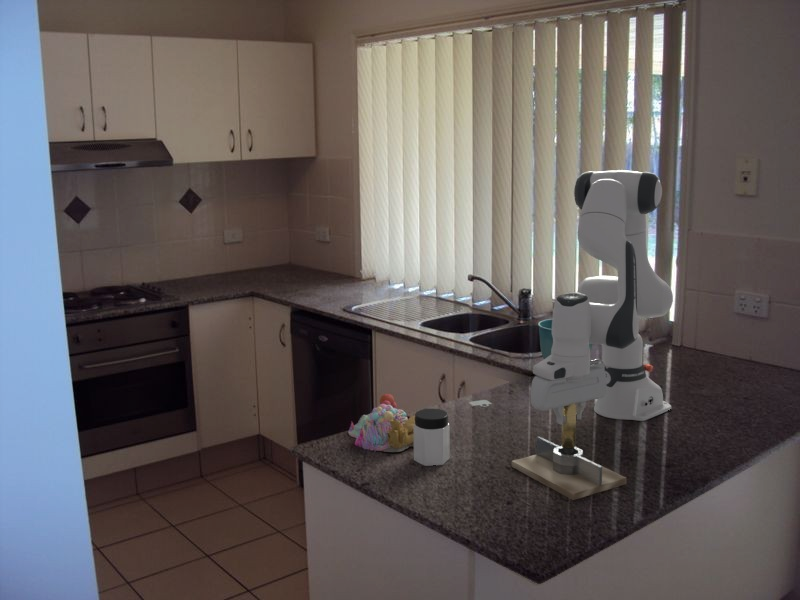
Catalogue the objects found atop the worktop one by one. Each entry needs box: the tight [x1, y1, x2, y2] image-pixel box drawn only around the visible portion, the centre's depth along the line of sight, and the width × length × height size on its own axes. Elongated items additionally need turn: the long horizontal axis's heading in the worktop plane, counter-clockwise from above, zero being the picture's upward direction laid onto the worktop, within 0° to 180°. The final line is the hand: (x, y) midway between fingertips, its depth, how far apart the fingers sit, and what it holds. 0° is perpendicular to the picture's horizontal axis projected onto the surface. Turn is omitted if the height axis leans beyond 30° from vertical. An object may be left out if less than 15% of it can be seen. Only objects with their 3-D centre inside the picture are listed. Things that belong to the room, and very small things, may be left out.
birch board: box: [511, 453, 628, 501], centre depth 202 cm, size 16×22×2 cm
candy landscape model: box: [347, 393, 415, 453], centre depth 228 cm, size 25×24×9 cm
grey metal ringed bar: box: [536, 436, 602, 486], centre depth 201 cm, size 7×22×4 cm, turn 30°
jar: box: [413, 408, 451, 467], centre depth 211 cm, size 9×8×12 cm
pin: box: [560, 404, 577, 449], centre depth 200 cm, size 3×3×12 cm
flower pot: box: [537, 318, 593, 360], centre depth 279 cm, size 18×18×17 cm
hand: (568, 421), depth 199 cm, fingers closed on pin, 3 cm apart
